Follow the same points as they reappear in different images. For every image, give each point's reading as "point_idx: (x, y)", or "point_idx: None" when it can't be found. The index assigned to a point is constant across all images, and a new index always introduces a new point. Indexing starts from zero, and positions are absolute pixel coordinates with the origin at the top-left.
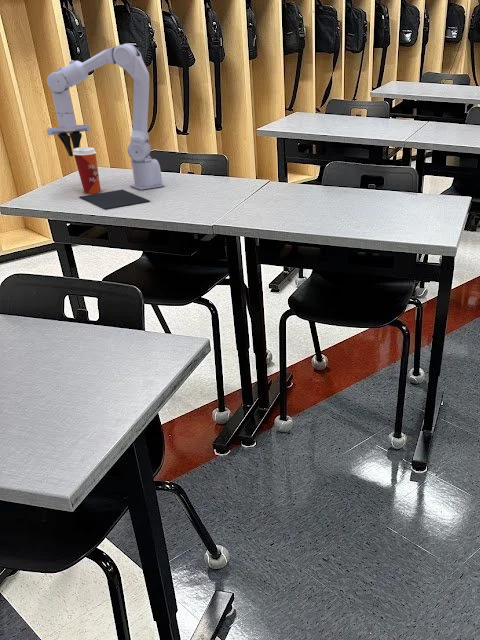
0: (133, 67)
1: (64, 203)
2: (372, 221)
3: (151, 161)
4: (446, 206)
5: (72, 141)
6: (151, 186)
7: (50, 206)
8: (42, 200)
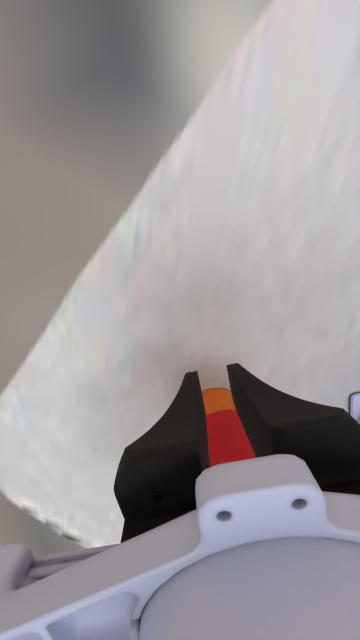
0: None
1: (113, 491)
2: None
3: None
4: None
5: (252, 412)
6: None
7: (75, 502)
8: (56, 442)
